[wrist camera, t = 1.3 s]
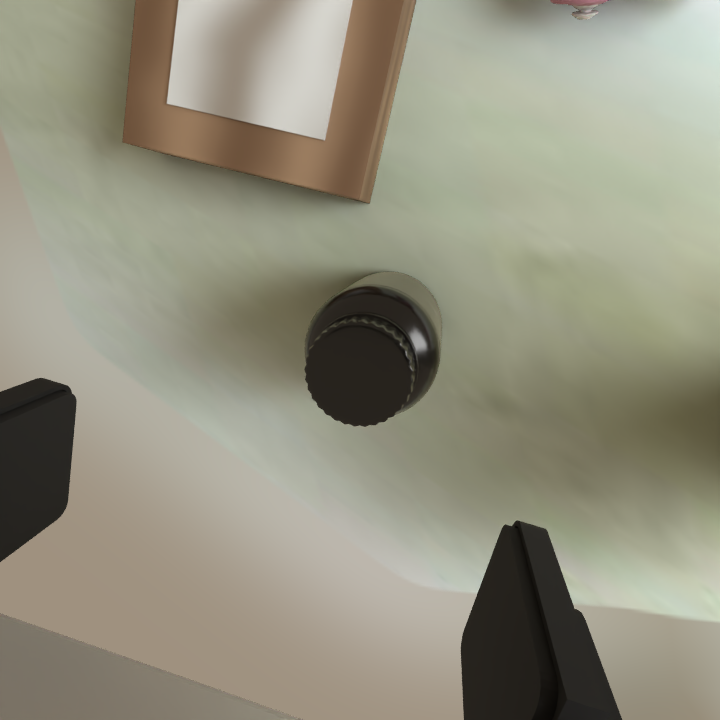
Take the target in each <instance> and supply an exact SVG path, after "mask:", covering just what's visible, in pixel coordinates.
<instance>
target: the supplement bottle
mask: <svg viewBox="0 0 720 720" xmlns="http://www.w3.org/2000/svg"><path fill="white" fill-rule="evenodd" d="M441 337H442V318H441V312H440V309H439V306H438V304H437V301H436V299H435V298H434V296H433V294H432V293H431V292H430V291H429V289H428V288H427V287H426V286H425V285H423V284H422V283H421V282H420V281H418V280H417V279H415V278H413V277H411V276H409V275H406V274H403V273H399V272H389V271H387V272H378V273H374V274H371V275H368V276H366V277H364V278H362V279H360V280H358V281H357V282H355V283H353V284H352V285H350V286H349V287H347V288H345V289H344V290H342V291H341V292H339V293H337V294H336V295H334V296H333V297H332V298H330V299H329V300H328V301H327V302H326V303H325V304H324V305H323V306H322V307H321V308H320V309H319V310H318V312H317V313H316V314H315V316H314V318H313V319H312V321H311V323H310V326H309V328H308V332H307V335H306V341H305V359H306V367H305V372H306V378H305V380H306V382H307V383H308V390H309V391H310V393H311V394H312V399H313V400H314V401H316V402H317V405H318V407H319V408H321V409H323V410H324V412H325V414H327V415H330V416H331V417H332V418H333V419H334V420H337V421H341V422H342V423H344V424H351V425H353V426H359V425H361V426H364V427H366V426H368V425H376V424H378V423H379V422H385V421H386V420H387V419H388V418H390V417H393V416H394V415H396V414H399V413H401V412H404V411H405V410H407V409H409V408H411V407H412V406H414V405H415V404H416V403H417V402H418V401H420V400H421V399H422V398H423V397H424V395H425V394H426V393H427V392H428V390H429V389H430V387H431V385H432V383H433V381H434V379H435V377H436V374H437V371H438V367H439V362H440V351H441Z"/></svg>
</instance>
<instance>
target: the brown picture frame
mask: <svg viewBox="0 0 720 720" xmlns="http://www.w3.org/2000/svg"><path fill="white" fill-rule="evenodd" d="M415 4H416V0H136V3H135V14H134V24H133V35H132V46H131V57H130V67H129V78H128V89H127V99H126V110H125V121H124V131H123V142H124V143H127V144H131V145H135V146H138V147H142V148H145V149H149V150H153V151H156V152H160V153H164V154H168V155H172V156H176V157H180V158H184V159H188V160H193V161H197V162H201V163H205V164H209V165H213V166H217V167H221V168H226V169H230V170H234V171H238V172H242V173H246V174H250V175H254V176H258V177H263V178H267V179H271V180H275V181H279V182H283V183H287V184H291V185H296V186H300V187H304V188H308V189H312V190H316V191H320V192H324V193H329V194H333V195H337V196H341V197H345V198H349V199H353V200H357V201H361V202H366V203H370V200H371V195H372V191H373V187H374V182H375V178H376V174H377V169H378V165H379V161H380V156H381V152H382V147H383V143H384V139H385V134H386V130H387V126H388V121H389V117H390V113H391V108H392V104H393V99H394V95H395V91H396V86H397V82H398V78H399V73H400V69H401V65H402V60H403V56H404V52H405V47H406V43H407V38H408V34H409V30H410V25H411V21H412V17H413V12H414V8H415Z"/></svg>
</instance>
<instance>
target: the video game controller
mask: <svg viewBox="0 0 720 720" xmlns="http://www.w3.org/2000/svg"><path fill="white" fill-rule="evenodd" d="M606 1H609V0H551V2H552V3H554V4H568V5H572V6H573V7H574V8H576V9H578V10H579V11H576V12H573V13H572V16H574V17H575V18H577V19H581V20H583V19H590V18H591V17H593V16H595V15H596V14H598V11H597V10H591V9H593V8H595V7H597V6H598V5H599V4H603V3H604V2H606Z"/></svg>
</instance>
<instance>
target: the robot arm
mask: <svg viewBox="0 0 720 720" xmlns="http://www.w3.org/2000/svg"><path fill="white" fill-rule="evenodd" d="M75 413H76V397H75V396H74V395H73V394H72V392H71V389H70V388H69V387H68V386H67V385H64V384H61V383H57V382H53V381H51V380H47V379H44V378H39V379H35V380H32V381H29V382H26V383H24V384H21V385H18V386H15V387H12V388H10V389H7V390H4V391H2V392H0V562H1V561H2V560H3V559H5V558H6V557H8V556H9V555H10V554H12V553H13V552H14V551H15V550H17V549H18V548H20V547H21V546H22V545H24V544H25V543H26V542H27V541H29V540H30V539H32V538H33V537H34V536H36V535H37V534H38V533H40V532H41V531H42V530H44V529H45V528H46V527H48V526H49V525H50V524H52V523H53V522H54V521H56V520H57V519H58V518H59V517H60V516H61V515H62V514H63V512H64V510H65V509H66V506H67V503H68V494H69V482H70V470H71V459H72V447H73V437H74V425H75ZM461 664H462V686H463V709H464V720H622V718H621V716H620V713H619V710H618V708H617V705H616V702H615V699H614V697H613V694H612V691H611V688H610V686H609V683H608V680H607V677H606V675H605V672H604V669H603V667H602V664H601V661H600V658H599V656H598V653H597V650H596V648H595V645H594V642H593V640H592V637H591V634H590V632H589V629H588V626H587V623H586V620H585V618H584V616H583V615H582V613H581V612H580V611H578V610H577V609H574V606H573V603H572V600H571V598H570V595H569V592H568V589H567V586H566V583H565V580H564V578H563V575H562V572H561V569H560V566H559V563H558V560H557V558H556V555H555V552H554V549H553V546H552V543H551V541H550V538H549V535H548V532H547V530H546V529H544V528H541V527H537V526H534V525H531V524H527V523H524V522H521V521H516V522H515V523H514V524H513V526H509V525H504V526H503V528H502V530H501V532H500V535H499V538H498V540H497V543H496V546H495V548H494V551H493V554H492V556H491V559H490V562H489V564H488V567H487V570H486V573H485V575H484V578H483V581H482V583H481V586H480V589H479V591H478V594H477V597H476V599H475V602H474V605H473V607H472V610H471V613H470V615H469V618H468V621H467V624H466V626H465V629H464V632H463V636H462V643H461ZM0 720H303V719H300V718H297V717H294V716H291V715H289V714H285V713H283V712H280V711H277V710H274V709H272V708H269V707H266V706H263V705H260V704H258V703H255V702H252V701H249V700H246V699H243V698H240V697H238V696H235V695H232V694H229V693H227V692H224V691H221V690H218V689H215V688H213V687H210V686H207V685H204V684H201V683H199V682H195V681H193V680H190V679H187V678H184V677H182V676H179V675H176V674H173V673H170V672H167V671H165V670H162V669H159V668H156V667H153V666H150V665H147V664H144V663H141V662H139V661H136V660H133V659H130V658H127V657H124V656H122V655H119V654H116V653H113V652H110V651H107V650H104V649H102V648H99V647H96V646H93V645H90V644H87V643H84V642H82V641H78V640H76V639H73V638H70V637H67V636H64V635H61V634H58V633H55V632H53V631H50V630H47V629H44V628H41V627H38V626H35V625H32V624H30V623H27V622H24V621H21V620H18V619H15V618H12V617H9V616H7V615H4V614H1V613H0Z"/></svg>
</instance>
